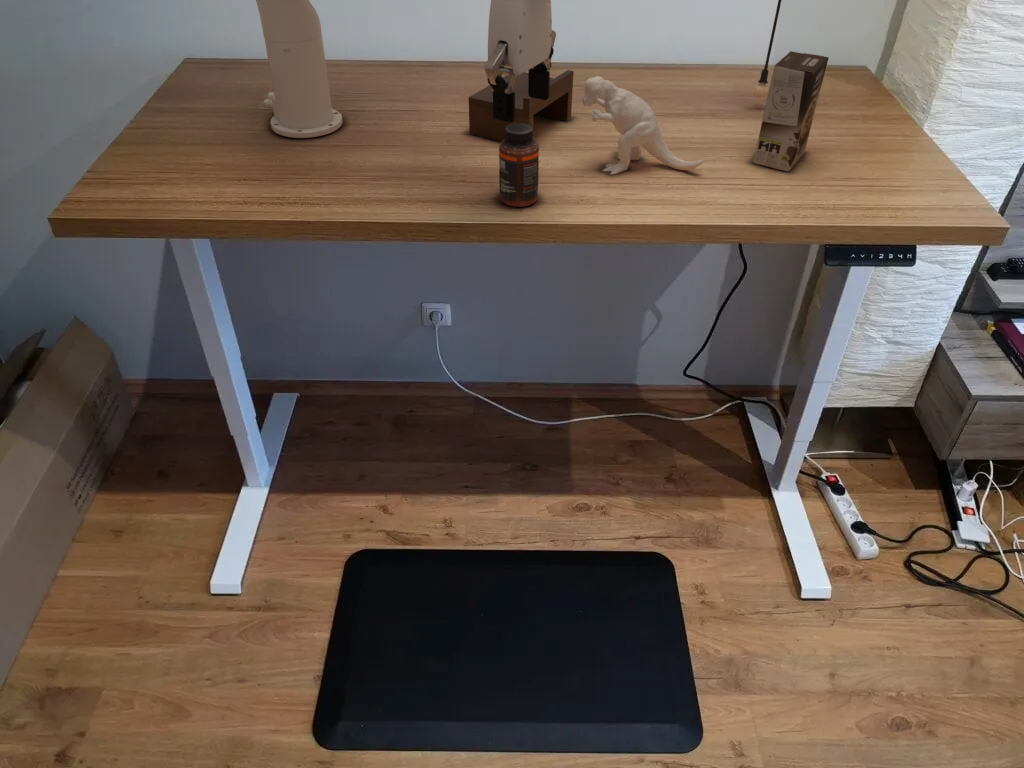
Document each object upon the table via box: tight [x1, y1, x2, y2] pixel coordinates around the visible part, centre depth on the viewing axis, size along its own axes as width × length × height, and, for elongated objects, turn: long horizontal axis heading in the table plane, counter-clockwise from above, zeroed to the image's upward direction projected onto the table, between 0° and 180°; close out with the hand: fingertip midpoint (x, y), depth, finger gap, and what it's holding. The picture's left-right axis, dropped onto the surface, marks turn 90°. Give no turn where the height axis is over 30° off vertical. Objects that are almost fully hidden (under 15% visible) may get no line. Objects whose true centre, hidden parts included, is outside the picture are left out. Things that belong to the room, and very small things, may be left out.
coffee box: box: [752, 50, 829, 172], centre depth 130 cm, size 9×6×16 cm
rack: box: [468, 69, 574, 143], centre depth 142 cm, size 12×16×9 cm
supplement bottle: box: [498, 123, 540, 208], centre depth 120 cm, size 6×6×11 cm
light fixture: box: [753, 0, 782, 99], centre depth 145 cm, size 7×7×25 cm
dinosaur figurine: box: [581, 75, 704, 175], centre depth 128 cm, size 20×10×15 cm, turn 79°
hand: (521, 108), depth 114 cm, fingers open, 9 cm apart
